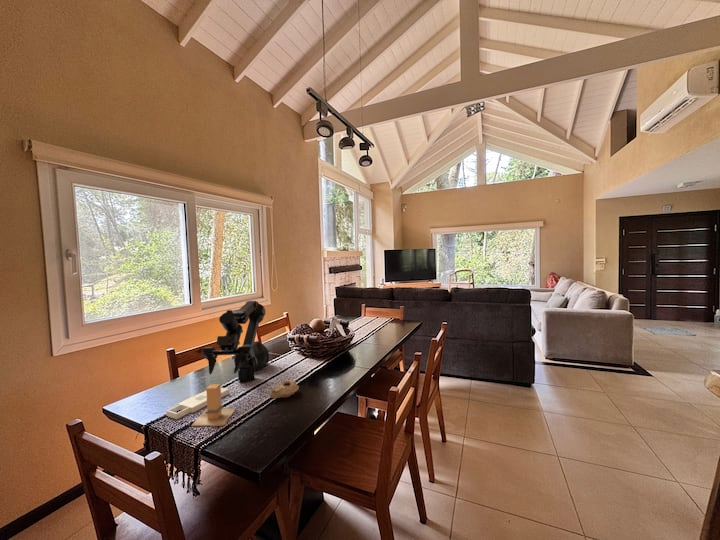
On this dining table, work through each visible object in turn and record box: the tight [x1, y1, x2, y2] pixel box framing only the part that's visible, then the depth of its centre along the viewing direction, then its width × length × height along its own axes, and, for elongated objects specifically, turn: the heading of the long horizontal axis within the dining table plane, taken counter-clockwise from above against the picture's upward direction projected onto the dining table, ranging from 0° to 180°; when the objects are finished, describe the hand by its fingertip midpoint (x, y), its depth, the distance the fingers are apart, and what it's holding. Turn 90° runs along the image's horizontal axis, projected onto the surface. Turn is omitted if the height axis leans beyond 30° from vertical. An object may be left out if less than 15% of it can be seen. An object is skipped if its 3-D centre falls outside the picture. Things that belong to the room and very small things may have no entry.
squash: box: [253, 340, 270, 370], centre depth 153 cm, size 14×15×15 cm
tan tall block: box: [204, 383, 224, 419], centre depth 105 cm, size 4×4×11 cm
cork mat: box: [190, 407, 237, 428], centre depth 106 cm, size 11×11×1 cm
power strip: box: [165, 387, 230, 420], centre depth 116 cm, size 22×8×3 cm, turn 156°
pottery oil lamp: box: [268, 380, 300, 399], centre depth 121 cm, size 9×12×7 cm
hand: (222, 373), depth 112 cm, fingers open, 9 cm apart
